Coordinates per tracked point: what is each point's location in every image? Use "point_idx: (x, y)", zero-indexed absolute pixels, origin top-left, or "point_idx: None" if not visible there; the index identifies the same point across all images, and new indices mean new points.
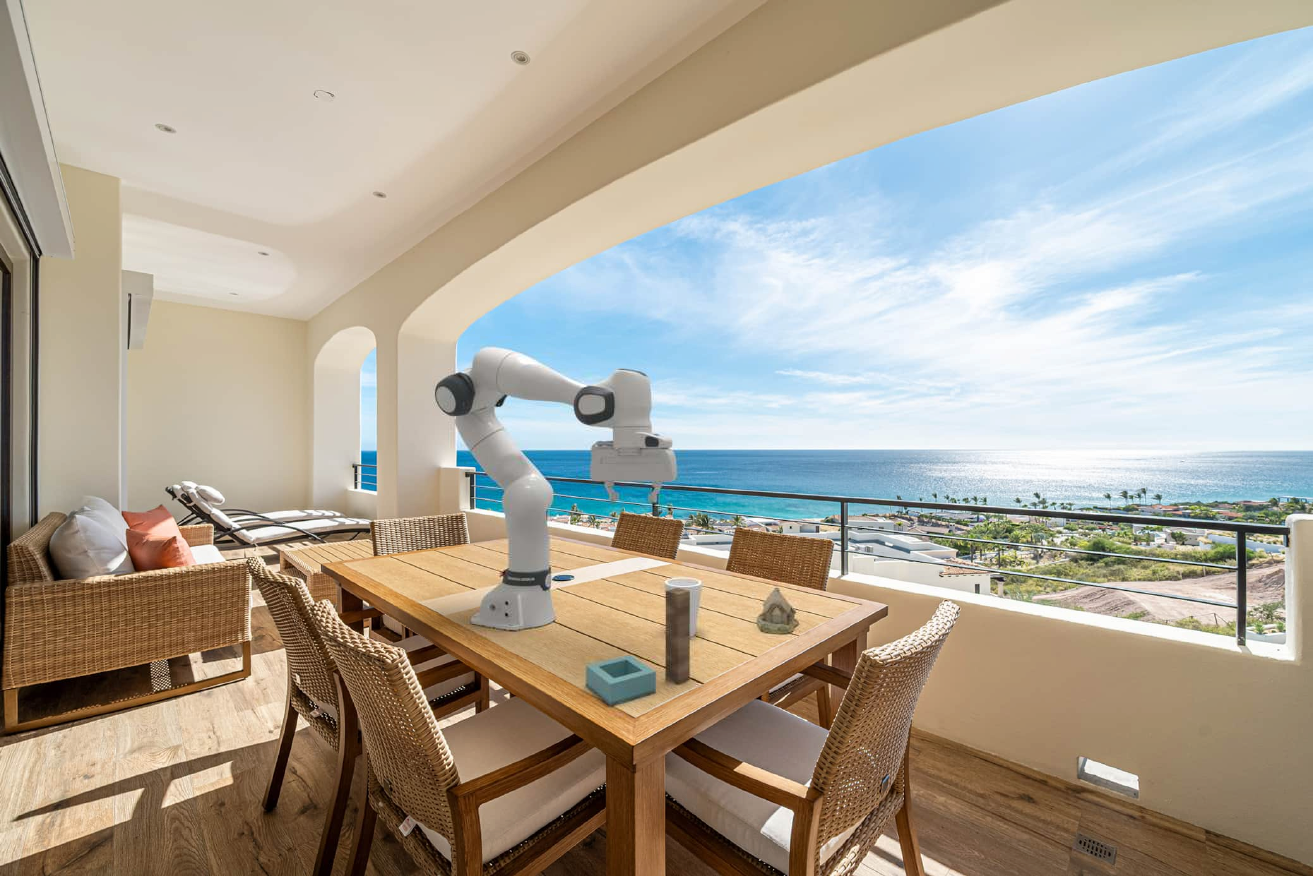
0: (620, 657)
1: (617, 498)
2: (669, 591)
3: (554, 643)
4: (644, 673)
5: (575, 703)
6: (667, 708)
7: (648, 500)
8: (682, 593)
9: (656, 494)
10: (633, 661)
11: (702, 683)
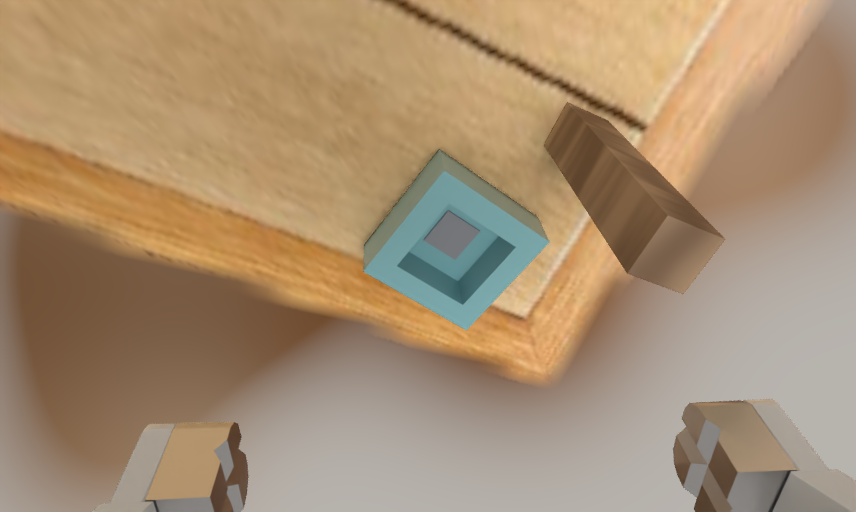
0: (426, 196)
1: (232, 457)
2: (643, 275)
3: (68, 8)
4: (524, 260)
5: (385, 314)
6: (579, 268)
7: (681, 477)
8: (696, 274)
9: (818, 477)
10: (472, 206)
11: (643, 129)
